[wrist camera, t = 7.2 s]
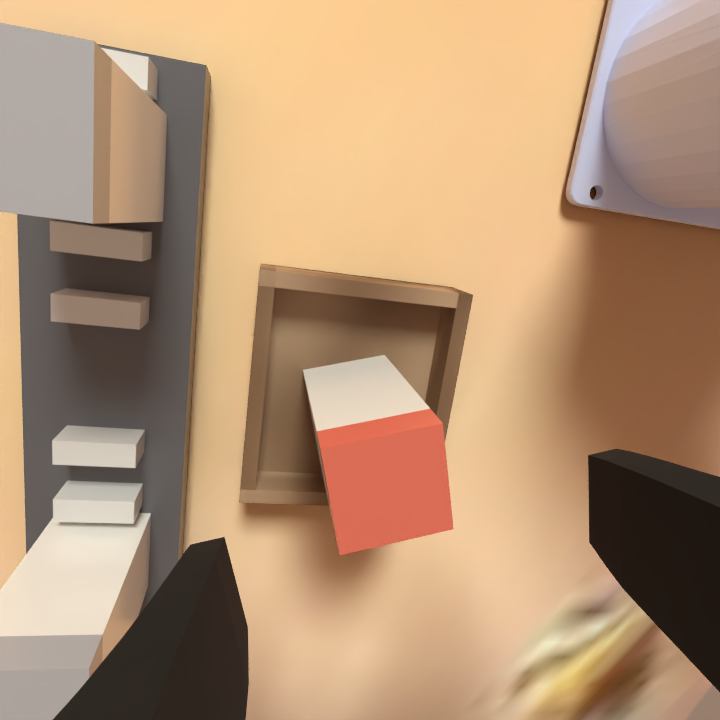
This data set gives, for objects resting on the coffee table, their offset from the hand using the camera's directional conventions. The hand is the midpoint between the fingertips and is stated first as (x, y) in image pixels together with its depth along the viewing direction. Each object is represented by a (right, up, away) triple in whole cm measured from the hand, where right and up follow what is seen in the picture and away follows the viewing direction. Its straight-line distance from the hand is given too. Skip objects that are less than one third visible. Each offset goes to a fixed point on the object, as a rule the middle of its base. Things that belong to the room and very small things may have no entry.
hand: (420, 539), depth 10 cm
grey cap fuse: (-8, +9, +5) cm, 13 cm away
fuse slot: (-10, -3, +8) cm, 13 cm away
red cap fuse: (-2, +2, +9) cm, 9 cm away
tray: (-2, +3, +9) cm, 10 cm away
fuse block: (-10, +3, +8) cm, 13 cm away
